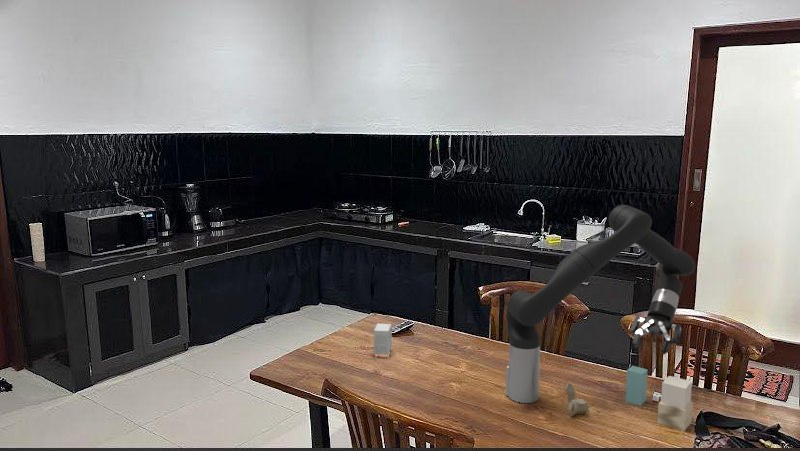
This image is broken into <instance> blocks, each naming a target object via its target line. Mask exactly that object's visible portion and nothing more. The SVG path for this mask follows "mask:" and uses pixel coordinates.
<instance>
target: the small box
mask: <svg viewBox="0 0 800 451" xmlns="http://www.w3.org/2000/svg"><path fill="white" fill-rule="evenodd" d="M392 325H393V324H391V323H376V326H375V328H374V330H373V353H374V354H389V352H390V349H391V347H393V343H392V342H393V340H392V337H393V336H392V333H393V332H392V330H393V329H392Z"/></svg>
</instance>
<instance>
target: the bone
mask: <svg viewBox="0 0 800 451" xmlns="http://www.w3.org/2000/svg"><path fill="white" fill-rule="evenodd" d="M565 392H566V394H567V402H568V403H567V411H568V413H569V414H570V415H569V417H573V416H575V415H578V414H584V415H585V414H587V413H590V409H589V407H590V404H588V402H587V401H585V400H584V399H583V398H577V399H575V396H576V395H575V394H576V390H575V387H574V386H573V384H572V383H570V382H567V383H566V387H565Z"/></svg>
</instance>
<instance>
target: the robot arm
mask: <svg viewBox="0 0 800 451" xmlns="http://www.w3.org/2000/svg"><path fill="white" fill-rule="evenodd" d="M652 224H653V221H652V217H651V216H650V215H649V214H648V213H646V212H644V211H643V210H640V209H638V208H636V207H633V206H631V205H627V204H619V205H617V206H615V207H614V208H613V209H612V210H611V211H610V213H609V216H608V225H609V227H610V229H611V230H613V231H614V232H613V233H612V234H611V235H609V236H607V237H605V238H602V239H599V240H596V241H593V242H590V243H585V244H583V245H581V246H578V247H576V248H575V249H574V250H572V251H571V252H570V253H568V255H566V256H565V257H564V258H562V259H561V261H560V262H559V264H558V265H557V267H556V268H555V271H554V272H553V274H552V276H551V278H550V279H549V281H547V283H546V284H545V285H543V286H542V287H541V288H540V289H539V290H537V291H536V292H534V293H533V294H532V293H531V292H528V291H526V290H517V291H515V292H513V293H512V294H511V295H510V297H509V298H508V300H507V303H506V304H507V305H506V330H507V335H508V339H509V340H508V341H509V343H508V344H509V345H508V346H509V347H508V350H509V351H508V352H509V354H508V365H507V366H506V368H505V396H506V397H508V396H509V397H508V398H509V399H510V398H511V399H510V400H512V401H513V400H514V402H515V403H516V402H517V403H519V402H520V404H532V403H535V402H537V401H538V400H539V398H540V365H541V364H540V363H541V362H540V361H541V359H540V357H541V336H540V334H539V332H538V330H537V327H536V325H539V324H540V323H541V322H542V321H543V320H545V318H547V316H549V314H550V313H552V311H553V310H555V308H556V307H557V306H558V305H559V304H560V303H561V302H562V301H563V300H564V299H565V298H567V297H568V296H570V294H572V293H573V292H574V291H575V290H576V289H578V288H579V287H580V286H581V285H583V284H584V283H585V282H586V281H588V280H589V279H590V278H592V277H593V275H595V274H596V273H597V272H598V271H599V270H601V268H603V267H604V266H605V265H607V263H610V261H612V260H613V259H614V258H616V257H617V256H618V255H620V254H621V253H622V252H624V251H625V250H627V249H629V248H630V247H632V246H633V245H634V244H636V245H637V246H638V247H640V248H641V249H642V250H643V251H644V252H645V253H646V254H647V255H649V256H650V257H651V258H652V259H653V260H654V261H656V263H658V264H659V283H658V286H657V288H656V291H655V293H654V295H653V297H652V300H651V303H650V306H649V309H648V312H647V315H646V317H645V318H643V317H640V316H639V315H636V316H634V320H633V322H632V325H631V327H630V332H631V334H632V336H633V335H634V337H633V339H632V344H633V346H634V348H639V344H640V342H641V337H643V336H644V335H645V336H646V335H648V334H649V333H650V334H652V335H657V336H663V337H664V338H665V340H664V342H663V345H662V348H661V353H662V354H663V355H666V354H667V353H669V351H670V349H671V345H672V344H675V345H678V344H679V342H680V338H681V333H682V326H681V324H680V323H676V324H674V323H673V320H674V317H675V315H676V312H677V309H678V305H679V299H680V296H681V292H682V289H683V281H682V280H680V279H679V278H677V277H679V276H680V277H681V276H682V277H684V276H685V277H686V276H691V275H692V274H693V273H694V272H695V270H696V263H695V260H694V259H693V257H692V256H691V255H690V254H688V253H687V252H686V251H683V250H681V249H679V248H676V247H674V246H673V245H672V244H671V243H670V242H669V241H668V240H666V238H664V237H662V236H661V235H659V234H658V233H656V232H655V231H653V230H652V229H651V227H652ZM674 276H676V277H674ZM643 323H644V324H643ZM642 324H643V325H642ZM641 325H642V326H641ZM639 327H640V328H639ZM672 329H673V335H672V337H671V336H670V335H669V333H668V332H669V331H670V330H672Z"/></svg>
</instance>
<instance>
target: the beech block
mask: <svg viewBox="0 0 800 451" xmlns="http://www.w3.org/2000/svg"><path fill="white" fill-rule="evenodd" d="M657 406H658V407H657V424H659V425H663V426H665V427H668V428H669V427H670V428H673V429H675V430H677V431H678V430H679V431H682V432H685V431H686V430H687V428H688V427H689V426H690V425H691V423H692V420H693V406H694V402H693V401H692V400H691V402H690V403H689V404H688V405H687V407H686V408H685V409H681V408H677V407H674V406H670V405H667V404H663V403H661V400H660V401H658V405H657Z"/></svg>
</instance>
